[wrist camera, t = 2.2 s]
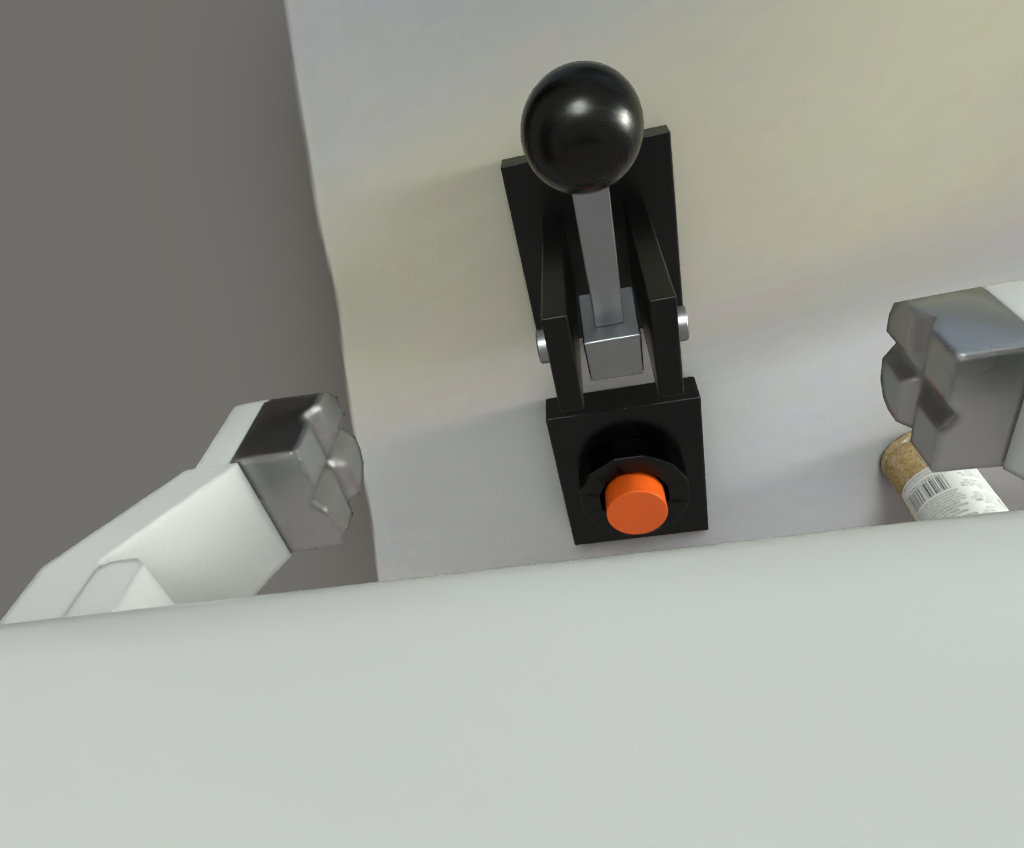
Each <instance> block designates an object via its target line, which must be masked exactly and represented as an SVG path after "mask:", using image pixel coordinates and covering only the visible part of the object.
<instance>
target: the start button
mask: <svg viewBox="0 0 1024 848" xmlns="http://www.w3.org/2000/svg"><path fill="white" fill-rule="evenodd" d="M605 503H606V513H607V519H608V521H609V523H610V524H611V525H612V526H613V527H614V528H615V529H616V530H618V531H620V532H623V533H627V534H644V533H648V532H651V531H653V530H655V529H657V528H658V527H659V526H661V525H662V524H663V523H664V521H665V520H666V517H667V514H668V507H667V502H666V497H665V493H664V488H663V485H662V484H661V482H660V481H659V480H658V479H657V478H656V477H654V476H652V475H650V474H647V473H643V472H632V473H626V474H622V475H620V476H618V477H616V478H615V479H613V480H612V481H611V482H610V483H609V485H608V486H607V488H606V491H605Z"/></svg>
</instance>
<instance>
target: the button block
mask: <svg viewBox="0 0 1024 848" xmlns="http://www.w3.org/2000/svg"><path fill="white" fill-rule="evenodd" d="M683 387H684V393H683V394H680V395H673V396H667V397H659V396H658V391H657V387H656V383H648V384H642V385H635V386H629V387H622V388H615V389H609V390H602V391H596V392H589V393H583V397H584V408H583V409H578V410H572V411H565V412H561V411H560V407H559V403H558V398H550V399H546V423H547V427H548V431H549V436H550V440H551V444H552V448H553V453H554V457H555V461H556V466H557V470H558V474H559V479H560V483H561V487H562V491H563V496H564V500H565V504H566V509H567V513H568V517H569V521H570V526H571V530H572V534H573V539H574V543H575V545H580V544H589V543H598V542H606V541H615V540H623V539H632V538H641V537H649V536H658V535H666V534H675V533H684V532H692V531H701V530H708V514H707V497H706V481H705V464H704V448H703V431H702V414H701V398H700V394H699V391H698V388H697V385H696V382H695V378H694V377H687V378H683ZM632 472H643V473H647V474H650V475H652V476H654V477H656V478H657V479H658V480H659V481H660V482H661V484H662V485H663V488H664V493H665V497H666V502H667V507H668V514H667V517H666V520H665V521H664V523H663V524H662V525H661V526H659V527H658V528H657V529H655V530H653V531H651V532H648V533H644V534H627V533H623V532H620V531H618V530H616V529H615V528H614V527H613V526H612V525H611V524H610V523H609V521H608V519H607V513H606V503H605V491H606V488H607V486H608V485H609V483H610V482H611V481H612V480H613V479H615V478H616V477H618V476H620V475H622V474H626V473H632Z"/></svg>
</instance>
